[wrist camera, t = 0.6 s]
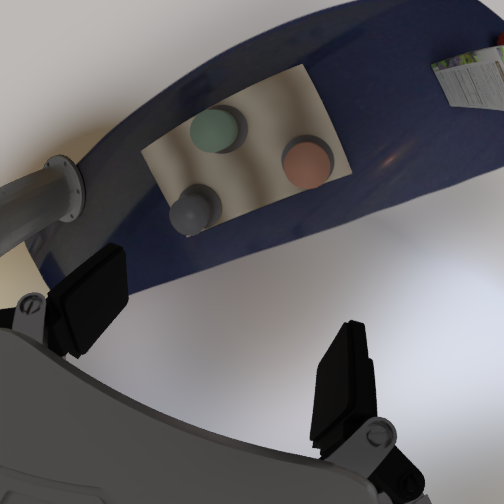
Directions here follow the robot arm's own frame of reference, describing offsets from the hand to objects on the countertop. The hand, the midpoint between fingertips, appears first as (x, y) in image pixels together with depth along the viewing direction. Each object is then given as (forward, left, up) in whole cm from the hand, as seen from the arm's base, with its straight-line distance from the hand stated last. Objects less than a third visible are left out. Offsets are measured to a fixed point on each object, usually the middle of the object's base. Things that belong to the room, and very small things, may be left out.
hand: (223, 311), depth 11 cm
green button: (-7, +5, -20) cm, 22 cm away
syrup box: (+19, +17, -25) cm, 36 cm away
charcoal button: (-10, -5, -20) cm, 23 cm away
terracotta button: (+2, +3, -20) cm, 20 cm away
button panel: (-6, +2, -25) cm, 25 cm away
